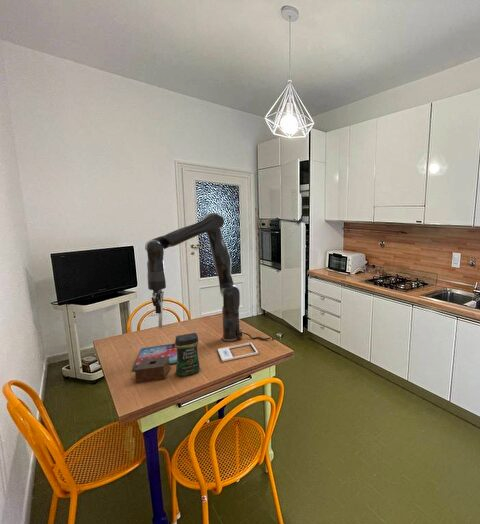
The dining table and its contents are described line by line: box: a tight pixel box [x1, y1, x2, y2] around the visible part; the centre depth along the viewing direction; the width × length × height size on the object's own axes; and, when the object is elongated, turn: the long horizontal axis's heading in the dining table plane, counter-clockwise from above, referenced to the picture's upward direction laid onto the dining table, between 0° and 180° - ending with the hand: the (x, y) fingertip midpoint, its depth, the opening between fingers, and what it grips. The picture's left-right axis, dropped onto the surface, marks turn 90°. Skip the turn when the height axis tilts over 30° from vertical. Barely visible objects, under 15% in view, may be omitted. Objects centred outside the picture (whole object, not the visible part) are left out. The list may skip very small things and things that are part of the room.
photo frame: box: [217, 342, 259, 363], centre depth 158 cm, size 15×1×18 cm
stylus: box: [157, 302, 164, 330], centre depth 151 cm, size 2×2×14 cm
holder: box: [134, 356, 171, 384], centre depth 134 cm, size 11×11×6 cm
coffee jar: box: [174, 332, 201, 377], centre depth 136 cm, size 10×8×19 cm
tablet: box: [132, 342, 177, 372], centre depth 152 cm, size 19×25×1 cm
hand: (159, 312), depth 150 cm, fingers closed on stylus, 1 cm apart
